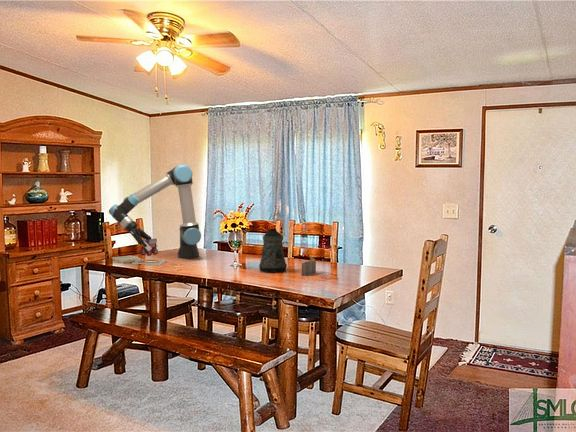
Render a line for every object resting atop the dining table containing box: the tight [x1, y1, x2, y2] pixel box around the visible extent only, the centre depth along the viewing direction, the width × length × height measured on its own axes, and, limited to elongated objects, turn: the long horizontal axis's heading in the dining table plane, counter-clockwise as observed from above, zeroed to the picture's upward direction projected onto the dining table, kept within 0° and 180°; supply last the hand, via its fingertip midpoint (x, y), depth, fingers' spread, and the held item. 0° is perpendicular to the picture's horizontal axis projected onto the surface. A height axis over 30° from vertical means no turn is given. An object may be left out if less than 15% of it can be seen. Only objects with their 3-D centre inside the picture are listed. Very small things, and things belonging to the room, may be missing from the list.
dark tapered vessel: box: [258, 228, 288, 274], centre depth 304 cm, size 16×19×25 cm
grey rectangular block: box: [301, 256, 317, 277], centre depth 293 cm, size 11×3×10 cm, turn 146°
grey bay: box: [131, 259, 167, 266], centre depth 327 cm, size 18×13×2 cm
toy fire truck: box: [139, 238, 159, 257], centre depth 326 cm, size 7×12×10 cm, turn 148°
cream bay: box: [111, 255, 143, 264], centre depth 341 cm, size 18×13×2 cm
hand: (153, 248), depth 326 cm, fingers closed on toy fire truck, 10 cm apart
